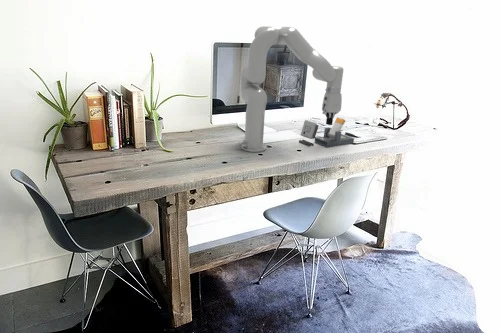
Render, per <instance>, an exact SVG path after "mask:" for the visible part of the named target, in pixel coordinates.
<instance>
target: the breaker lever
mask: <svg viewBox="0 0 500 333" xmlns="http://www.w3.org/2000/svg"><path fill="white" fill-rule="evenodd" d="M345 123H346V120H345V119H343V118H341V117H336V119H335V121H334V123H333V124H332V125H331V126H332V127H330V128H331V129H330V132H329V133H328V134H327V136H329V137H331V138H334V139H335V132H336V131H341V129H342V128H343V127H344V124H345Z"/></svg>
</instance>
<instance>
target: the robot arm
mask: <svg viewBox="0 0 500 333" xmlns="http://www.w3.org/2000/svg"><path fill="white" fill-rule="evenodd" d="M273 45H276V46H277V45H286V46H287V48H288V49H289V50H290V51H291V52H292V54H294V55H295V57H296V58H297V59H298V60H299V61H301V62H302V63H304V64H305V65H308V66H309V67H311V68H312V77H313V78H314V79H316V80H317V81H321V82H324V83H326V88H324V89H325V93H324V96H323V100H322V105H321V111H322V115H325V117H326V120H325V124H326V125H328V126H333V121H334V118H335V116H336V115H337V114H339V112H342V111H341V110H342V103H343V102H342V98H343V97H342V93H341V90H342V84H343V77H344V76H343V75H344V68H343V66H337V65H332V64H331V63H330V62H329V61H328V60H327V58H326V57H324V56H323V55H322V54H321V53H320V52H319V51H317V50H316V49H315V48H314V47H312V46H311V44H310V43H309V42H308V41H307V40H306V38H305V37H304V36H303V34H301V33H300V31H299V30H298V29H297V28H295V27H293V26H260V27H258V28H257V29H255V32H254V39H253V40H252V42H251V43H250V46H249V50H248V60H247V61H248V62H247V63H246V64H244V66H243V67H242V69H241V76H240V78H241V79H240V80H241V82H240V92H241V98H242V100H243V101H244V102H246V103H247V105H246V109H245V123H244V124H245V125H244V126H245V128H244V129H245V130H244V139H243V140H242V141H241V142H236V143H235V146H236V147H241V150H243V151H245V152H250V153H260V152H264V151H266V148H267V147H266V145H264V134H265V132H264V129H265V116H266V115H265V114H266V107H267V102H268V95H267V93H266V91H265V90H264V89H263V88H262V87H260V85H261V84H263V82H265V80H266V77H267V76H266V75H267V74H266V72H267V71H266V70H267V57H268V56H267V54H268V52H269V49H270V48H271V47H273Z"/></svg>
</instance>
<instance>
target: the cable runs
mask: <svg viewBox="0 0 500 333" xmlns="http://www.w3.org/2000/svg"><path fill="white" fill-rule="evenodd" d="M298 143H299V144H302V145H305V146H307V147H313V146H315V143H313V142H311V141H309V140H306V139H302V140H301V139H300V140H298Z"/></svg>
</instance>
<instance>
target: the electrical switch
mask: <svg viewBox="0 0 500 333" xmlns="http://www.w3.org/2000/svg"><path fill="white" fill-rule="evenodd" d="M319 126H320V125H319V124H317V123H316V122H315V121H310V120H307V119H304V122H303V125H302V128H301V131H300V136H302V137H306V138H308V139H315V138H316V136H317V132H318V129H319Z"/></svg>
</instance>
